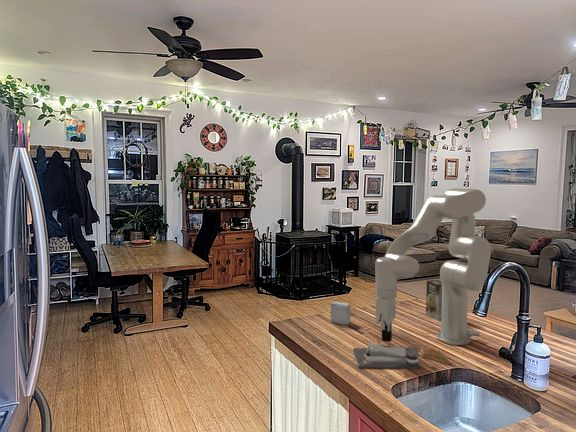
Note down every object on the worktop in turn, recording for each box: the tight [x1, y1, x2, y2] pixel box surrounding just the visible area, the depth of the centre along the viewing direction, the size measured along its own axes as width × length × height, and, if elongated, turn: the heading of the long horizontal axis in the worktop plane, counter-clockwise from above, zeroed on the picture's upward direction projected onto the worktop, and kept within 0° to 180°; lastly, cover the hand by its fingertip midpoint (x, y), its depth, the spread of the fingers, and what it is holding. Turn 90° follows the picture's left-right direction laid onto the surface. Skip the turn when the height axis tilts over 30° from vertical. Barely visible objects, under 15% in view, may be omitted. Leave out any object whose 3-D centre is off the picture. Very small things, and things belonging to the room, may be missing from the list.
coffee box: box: [425, 279, 442, 321], centre depth 189 cm, size 9×6×16 cm
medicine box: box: [330, 301, 352, 326], centre depth 181 cm, size 8×4×9 cm, turn 58°
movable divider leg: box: [366, 342, 420, 359], centre depth 142 cm, size 18×4×4 cm, turn 69°
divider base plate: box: [352, 347, 422, 369], centre depth 144 cm, size 21×14×3 cm, turn 89°
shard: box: [420, 348, 451, 365], centre depth 145 cm, size 11×8×2 cm
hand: (386, 340), depth 148 cm, fingers closed
